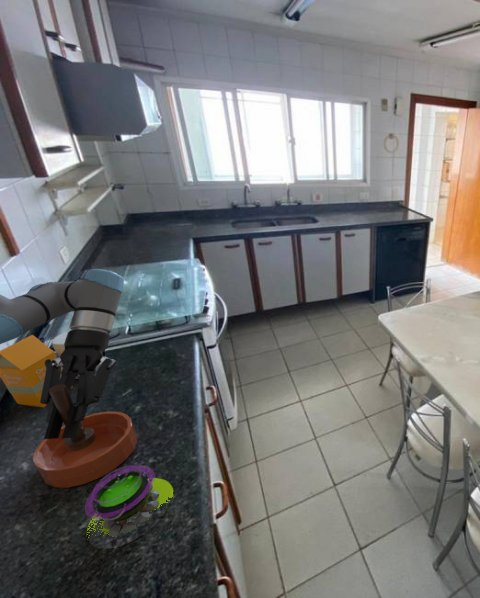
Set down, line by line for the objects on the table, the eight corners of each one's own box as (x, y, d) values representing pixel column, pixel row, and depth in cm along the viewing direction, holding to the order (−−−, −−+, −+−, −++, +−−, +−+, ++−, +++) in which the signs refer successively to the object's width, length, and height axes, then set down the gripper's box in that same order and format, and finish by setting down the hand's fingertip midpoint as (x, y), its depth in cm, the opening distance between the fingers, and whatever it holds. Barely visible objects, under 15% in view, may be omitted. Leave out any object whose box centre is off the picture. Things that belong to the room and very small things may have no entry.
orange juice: (20, 408, 94) (-18, 351, 85) (51, 387, 102) (20, 333, 93) (45, 410, 94) (11, 353, 85) (75, 389, 102) (46, 335, 93)
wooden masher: (67, 440, 77) (42, 385, 70) (96, 430, 80) (74, 377, 73) (65, 455, 73) (38, 399, 66) (95, 444, 76) (72, 390, 69)
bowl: (49, 449, 83) (39, 430, 80) (136, 420, 93) (130, 402, 91) (38, 505, 71) (26, 485, 68) (140, 464, 81) (133, 445, 78)
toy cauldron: (83, 509, 71) (61, 476, 66) (164, 466, 80) (151, 435, 75) (90, 569, 61) (65, 535, 56) (182, 512, 71) (167, 479, 66)
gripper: (135, 335, 83) (112, 435, 75) (65, 336, 81) (33, 439, 73) (116, 328, 76) (88, 437, 68) (38, 328, 74) (0, 441, 66)
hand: (60, 438), depth 71 cm, fingers closed on wooden masher, 3 cm apart
